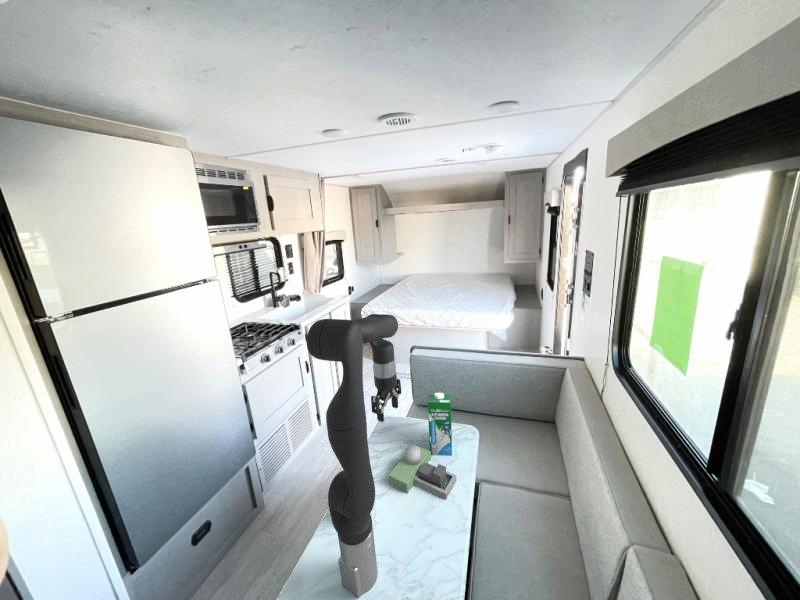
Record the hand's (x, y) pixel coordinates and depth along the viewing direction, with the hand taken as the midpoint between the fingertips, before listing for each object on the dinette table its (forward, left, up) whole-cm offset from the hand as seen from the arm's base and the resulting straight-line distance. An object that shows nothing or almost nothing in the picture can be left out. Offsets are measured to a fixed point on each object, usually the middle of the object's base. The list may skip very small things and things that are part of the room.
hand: (388, 413), depth 108 cm
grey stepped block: (+8, -12, -30) cm, 34 cm away
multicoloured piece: (+8, -9, -30) cm, 32 cm away
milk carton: (+25, -7, -30) cm, 40 cm away
